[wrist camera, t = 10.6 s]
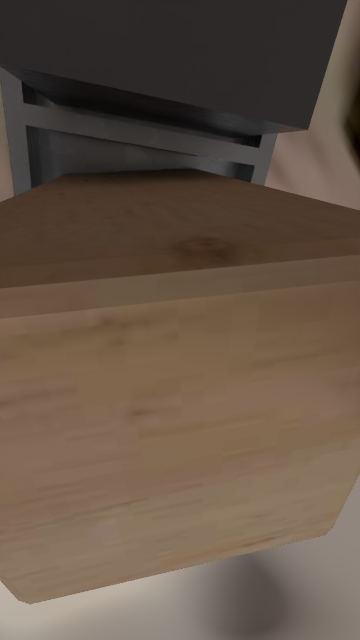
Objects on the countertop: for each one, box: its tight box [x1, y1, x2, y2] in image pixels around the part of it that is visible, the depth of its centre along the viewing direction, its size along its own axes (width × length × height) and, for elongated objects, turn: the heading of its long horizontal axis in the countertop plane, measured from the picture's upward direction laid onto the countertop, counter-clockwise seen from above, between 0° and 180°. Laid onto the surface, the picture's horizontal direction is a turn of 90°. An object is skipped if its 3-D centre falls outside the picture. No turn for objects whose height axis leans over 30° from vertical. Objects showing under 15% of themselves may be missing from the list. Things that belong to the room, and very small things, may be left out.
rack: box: [0, 0, 347, 196], centre depth 17 cm, size 17×24×11 cm
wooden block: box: [0, 168, 360, 604], centre depth 15 cm, size 10×10×20 cm
